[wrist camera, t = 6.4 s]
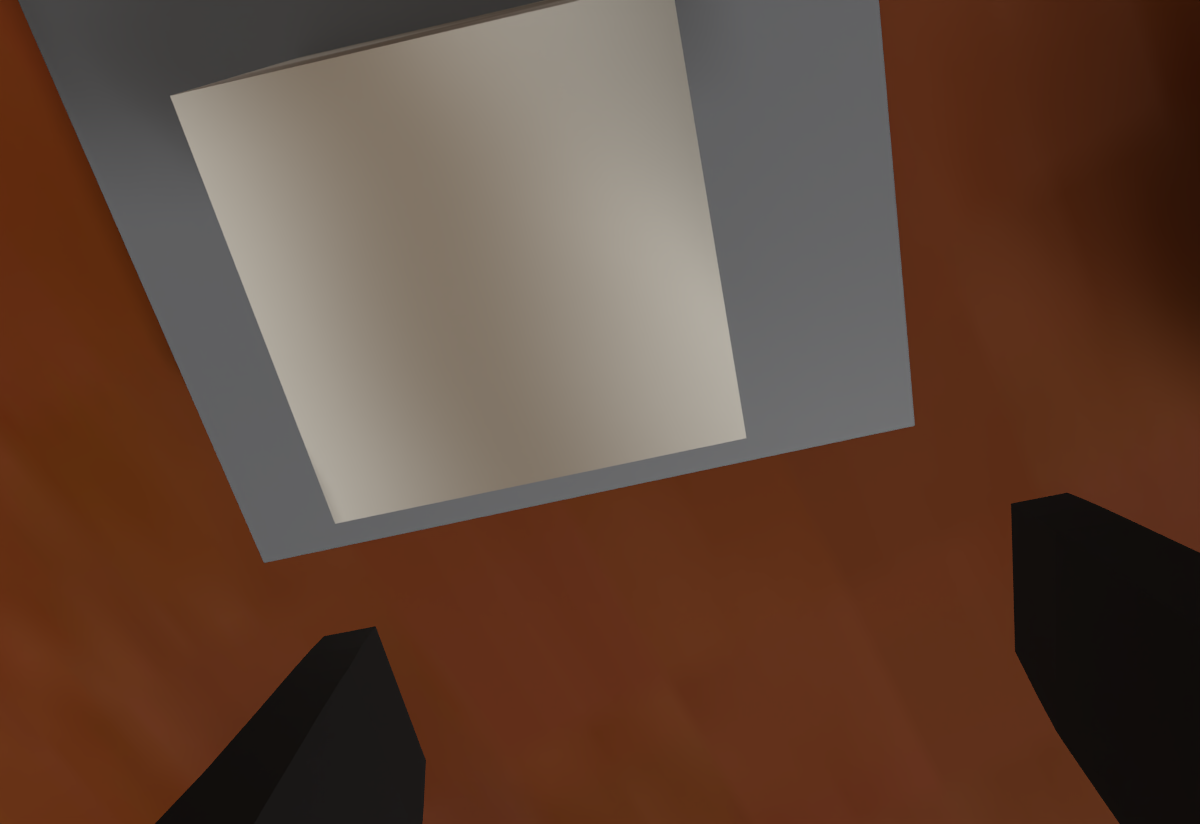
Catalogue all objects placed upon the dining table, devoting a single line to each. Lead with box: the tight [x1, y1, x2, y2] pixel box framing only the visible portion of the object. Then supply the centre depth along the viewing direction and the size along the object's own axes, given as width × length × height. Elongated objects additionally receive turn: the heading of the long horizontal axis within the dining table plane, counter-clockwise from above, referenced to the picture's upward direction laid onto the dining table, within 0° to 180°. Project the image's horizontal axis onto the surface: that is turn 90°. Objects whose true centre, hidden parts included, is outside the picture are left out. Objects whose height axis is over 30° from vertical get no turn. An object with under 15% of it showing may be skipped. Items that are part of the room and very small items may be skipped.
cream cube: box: [170, 0, 746, 524], centre depth 12 cm, size 5×5×5 cm
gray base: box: [18, 0, 915, 563], centre depth 16 cm, size 12×12×3 cm
